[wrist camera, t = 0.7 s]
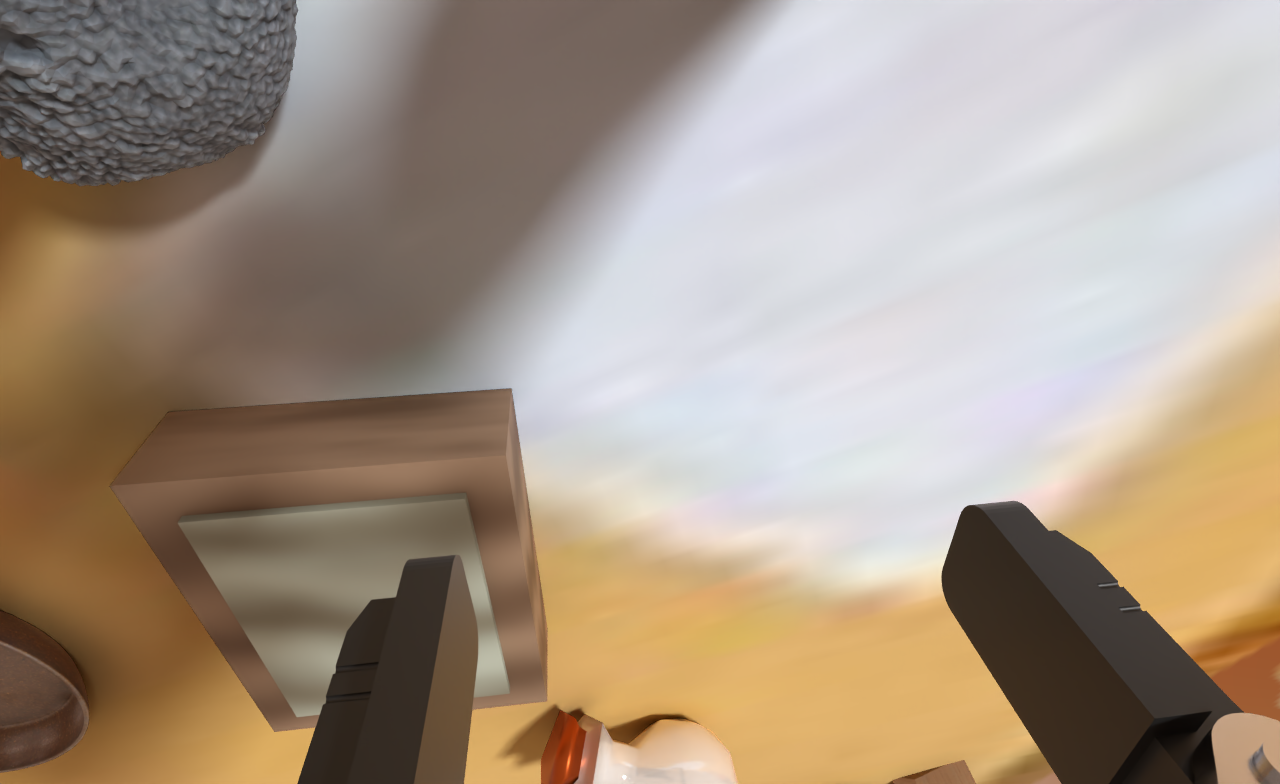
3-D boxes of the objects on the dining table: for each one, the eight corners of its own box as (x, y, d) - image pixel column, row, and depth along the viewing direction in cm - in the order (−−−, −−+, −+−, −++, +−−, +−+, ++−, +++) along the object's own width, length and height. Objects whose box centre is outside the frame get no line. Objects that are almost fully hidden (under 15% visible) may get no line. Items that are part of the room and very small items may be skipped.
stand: (168, 411, 30) (103, 492, 26) (511, 388, 32) (505, 461, 27) (301, 654, 42) (272, 738, 38) (547, 629, 43) (547, 707, 39)
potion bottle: (713, 726, 57) (557, 681, 53) (776, 747, 48) (595, 695, 44) (689, 848, 53) (519, 809, 49) (752, 895, 44) (552, 851, 41)
